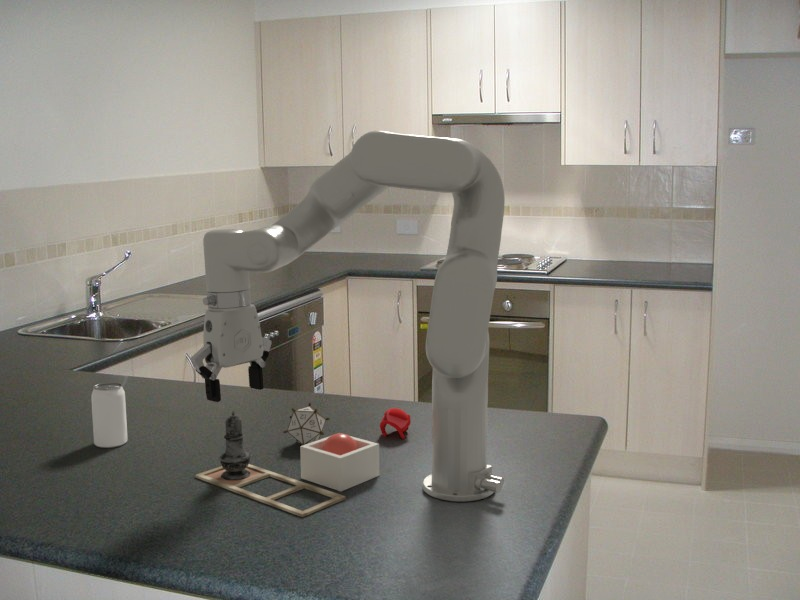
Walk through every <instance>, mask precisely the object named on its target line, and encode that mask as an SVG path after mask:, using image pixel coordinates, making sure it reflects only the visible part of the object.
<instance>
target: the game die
mask: <svg viewBox="0 0 800 600" xmlns="http://www.w3.org/2000/svg"><path fill="white" fill-rule="evenodd" d="M311 405H312V403H311V402H309V403H308V406H305V407H302V408H298V409H295V408H294V407H291V411H292V415H290V416H289V418H290V420H289V423H288V426H287V429H286V430H283V432H282V433H283V434H287V433H288V434H289V435H290V436H291V437H292V438H294V439H295V441H296V442H298V443H300V444H301V446H303V445H306V444H308V443H311V442H314V441H317V440H320V439H321V436H324V435H325V432H323V431H324V430H323V429H324V427H325V425H326V422H327V421H329V420H331V419H330V417H324V416H323V415H322V414H320V413H319V412H318V408H315V409H314V408H313V407H312V406H311Z"/></svg>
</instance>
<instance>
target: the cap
mask: <svg viewBox="0 0 800 600" xmlns="http://www.w3.org/2000/svg"><path fill="white" fill-rule="evenodd" d="M387 425H388V426H391V427H392V428H394V429H395V430H397V432H398V433H399V436H400V438H401V439H402V440H403V439H405V437H406V436H405V434H404V432H406V431H408V430H409V426H410V425H411V415H410V414H407V412H406V411H404V410H403V409H400V408H396V407H394V408H393V407H391V408H389V409H387V410H386V411H385V412H384V414H383V417H382V419H381V421H380V423H379V428H380V430H381V434H382V435H383V437H387V435H388V434H387V431H386V428H387Z"/></svg>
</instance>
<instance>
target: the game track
mask: <svg viewBox="0 0 800 600" xmlns="http://www.w3.org/2000/svg"><path fill="white" fill-rule="evenodd" d="M245 469H246V470H247V471H249V472H250V476H249V477H247V478H245V479H242V480H225V479H223V478H221V474H222V473H223V472H225V471H226V470H225V469H224V468H223V467H222V465H221V466H217V467H215V468H211V469H208V470H205V471H202V472H200V473H197V474H195V475H194V478H195V479H199V480H201V481H202V482H203V481H204V482H206V483H208V484H212V485H214V486H217V487H220V488H223V489H225V490H228V491H231V492H233V493H236V494H239V495H242V496H244V497H247V498H250V499H252V500H255V501H257V502H260V503H263V504H266V505H269V506H271V507H273V508H275V509H279V510H281V511H284V512H287V513H290V514H292V515H295V516H298V517H300V518H305V517H306V516H307V517H308V516H310V515H312V514H313V513H315V512H316V513H317V512H319V511H321V510H323V509H325V508H328V507H330V506H333V505H334V504H335V505H336V504H338V503H340V502H343V501H344V500H346V499H347V498H346V495H343V494H339V493H336V492H333V491H331V490H327V489H324V488H322V487H319V486H316V485H313V484H310V483H307V482H303V481H301V480H298V479H296V478H295V479H294V478H291V477H289V476H285V475H283V474H280V473H277V472H274V471H271V470H268V469H265V468H262V467H259V466H255V465H253V464H250V463H249V464H248V466H247V467H246V468H245ZM269 477H270V478H273V479H276V480H279V481H283V482H284V483H285V482H286V483H288V484H291V485H293V486H292V487H289V488H287V489H284V490H282V491H279V492H277V493H274V494H271V495H269V496H266V497H265V496H262V495H259V494H257V493H254V492H252V491H249V490H246V489H243V487H245V486H247V485H250V484H254V483H256V482H259V481H261V480H264V479H266V478H269ZM303 489H305V490H308V491H311V492H315V493H317V494H321V495H323V496H326V497H329V498H331V499H329V500H325V501H323V502H321V503H319V504H316V505H314V506H311V507H309V508H307V509H304V510H301V509H298V508H295V507H294V506H289V505H287V504H285V503H282V502H279V501H276V500H278V499H280V498H283V497H285V496H288V495H291V494H292V493H295V492H299V491H300V490H303Z"/></svg>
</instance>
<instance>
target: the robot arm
mask: <svg viewBox="0 0 800 600" xmlns="http://www.w3.org/2000/svg"><path fill="white" fill-rule="evenodd" d="M388 188H396V189H404V190H405V189H407V190H415V191H424V192H433V193H442V194H445V193H446V194H447V193H449V194H452V197H453V211H452V216H451V221H450V230H449V231H450V232H449V239H448V245H447V250H446V255H445V258H444V260H443V261H442V262H441V264H440V265H439V267H438V269H437V271H436V273H435V278H434V281H433V282H434V283H433V288H432V296H431V303H430V310H429V317H428V324H427V330H426V338H425V353H426V358H427V361H428V362H429V364H430V366H431V368H432V377H431V378H432V379H431V380H432V381H431V382H432V383H431V388H432V389H431V473H430V474H429V475H427V476H426V477H425V478H424V479H423V480H422V489H423V491H424V492H425V493H426V494H427V495H428V496H431V497H433V498H436V499H439V500H441V501H442V500H443V501H448V502H463V503H464V502H474V501H479V500H483V499H487V498H488V497H489V496H491V495H493V494H494V493H497V494H500V493H501V492H502V490H503V485H504V482H505V480H504V477H501V476H498V475H493V466H492V465H491V464H487V463H488V461H487V460H488V459H487V458H488V457H487V455H488V451H487V450H488V403H489V401H488V399H489V397H488V396H489V365H490V364H489V363H490V362H489V361H490V360H489V359H490V331H489V325H490V319H491V315H492V314H491V313H492V307H493V306H492V305H493V300H494V294H495V289H496V287H497V281H498V263H499V262H498V261H499V253H500V249H501V248H500V247H501V243H502V241H501V240H502V231H503V224H504V216H505V206H506V205H505V203H506V202H505V190H504V184H503V182H502V179H501V176H500V173H499V171H498V169H497V167H496V165H495V164H494V163H493V161H492V160H491V159H490V158H489V157H488V156H487V155H486V154H485V153H484V152H483V151H482V150H480V149H479V148H478V147H476V146H475V145H473V144H472V143H470V142H468V141H466V140H464V139H460V138H451V137H439V136H430V135H429V136H427V135H419V134H418V135H417V134H407V133H406V134H405V133H399V132H398V133H397V132H391V131H385V130H373V131H368V132H366V133H364V134H362V135H361V136H360V137H359V138H358V139H357V140H356V141H355V143H354V144H353V146H352V148H351V151H350V152H349V153H348V154H346V155H345V156H344V157H342V159H340V160H339V161H338V162H336V163H335V164H334V165H333V166H331V167H330V168H329V169H327V170H326V171H325V172H324V173H322V174H321V175H319V176H318V177H317V178H316V179H315V180H314V181H313V182H312V183H311V185H310V187H309V190H308V192H307V194H306V195H305V197H304V198H303V199H302V200H301V201H300V202H299V203H297V205H296V206H295V207H293V208H292V209H291V210H289V211H287V213H286V214H284V215H283V216H282V217H281V218H279V219H278V220H277V221H276V222H274V223H272V224H271V225H268V226H264V227H262V228H261V227H260V228H258V229H253V230H248V231H247V230H246V231H244V230H242V229H237V228H236V229H235V228H225V229H221V228H220V229H213V230H210V231H207V232H206V233H204V235H203V237H202V238H203V240H202V242H203V243H202V245H203V255H204V257H203V259H204V271H205V273H204V274H205V286H206V297H203V298H202V303H203V305H204V306H207V309H205V312H204V320H203V346H202V347H201V348H200V349H199V350H198V351H197V352H195V354H193V355H192V356H191V357H190V362H191V363H192V365H193V367H194V368H195V372H196V373H197V374H199V376H201V378H202V379H204V386H205V396H206V399H207V401H210V402H215V403H219V402H221V400H222V395H221V383H220V379H219V378H218V377H219V374H220V372H221V370H222V368H226V369H227V368H231V367H236V366H240V365H243V364H250V365H248V367H247V368H248V370H247V371H248V383H249V385H248V386H249V388H250V389H255V390H260V391H261V390H264V377H263V376H264V374H263V373H264V372H263V371H264V370H263V368H264V367H265V366H266V361H267V359H268V358H269V356H270V355H269V354H270V353H269V352H270V351H271V350H270V349H271V346H272V340H271V339H269V338H266V337H263V335H262V330H261V323H260V318H259V314H258V311H257V307H256V306H255V304H252V297H251V282H250V281H251V280H250V279H251V278H250V272H251V273H252V272H253V273H258V274H259V273H260V274H265V273H266V274H267V273H271V272H273V271H276V270H278V269H280V268H282V267H284V266H287V265H290V264H291V263H292V262H294V261H295V260H296V259H298V258H299V257H300V256H302V255H303V254H304V253H305V252H307V251H308V250H310V249H311V248H312V247H313V246H314V245H316V244H317V243H318V242H319V241H321V240H322V239H324V238H325V237H326V236H327V235H328V234H329V233H331V232H332V231H333V230H336V228H338V227H340V226H341V225H342V224H344V223H345V222H346V221H347V220H349V219H350V218H351V217H353V216H354V214H356V213H357V212H358V211H360V210H361V209H362V208H363V207H365V206H366V205H368V204H369V203H370V202H372V201H373V200H374V199H376V198H377V197H378V196H379V195H381V194H382V193H383V192H385V191H386V190H388ZM204 361H205V364H204Z"/></svg>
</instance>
